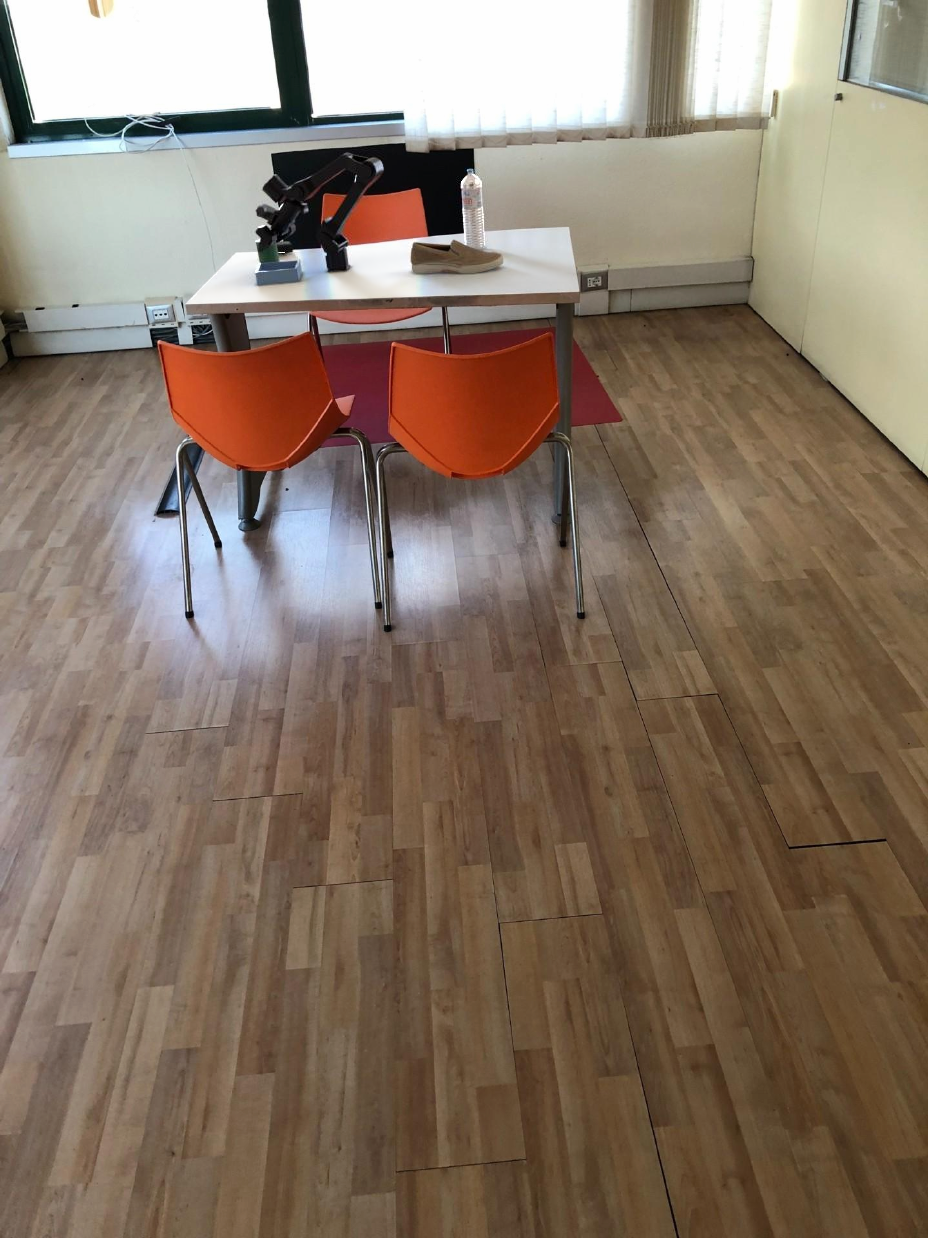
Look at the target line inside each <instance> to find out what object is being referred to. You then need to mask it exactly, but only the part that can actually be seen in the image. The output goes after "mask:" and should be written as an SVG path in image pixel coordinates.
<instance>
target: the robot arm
mask: <svg viewBox="0 0 928 1238" xmlns="http://www.w3.org/2000/svg"><path fill="white" fill-rule="evenodd" d="M345 170H347V171H349V172H351V173H352V174H354V175H355V179H354V182H353V184H352V186H351V187H350V189H349V190H348V192H347V194H345V197H344V199H343V200H342V201H341V203H340V204H339V207H338V208H337V209H336V211H335V213H334V214H333V216H328V217H327V218H325V219H323V220H322V221H321V224H320V226H319V227H318V228H317V229H316V231H317V233H316V239H317V242H318V244H319V245H320V246H321V248H322V250H323V252H324V253H325V254H326V255H325V256H324V257H325V265H326V269H327V270H326V272H330V273H331V272H346V271H348V269H350V268H351V264H349V263H350V262H349V257H348V249H347V248H348V247H349V239H348V238H347V237H345V235H343V233H344V229H345V225H346V222H347V221H348V219H349V218H350V216H351V214H352V213H353V212H354V210H355V209H356V207H357V206H358V204H359V203H360V200H361V199H362V198H363V196H364V194H365V193H366V191H367V190H368V189H369V188H370V187H371V186H372V185H373V184H374V183H375V182H376V181H378V180H379V178H380V177H381V176H382V175H383V174H384V170H385V169H384V164H383V162H382V161H381V160H380V159H379V158H377V157H371V158H369V157H367V156H361V155H356V154H353V153H350V152H345V153H343V154H340V155H339V157H337V158H336V159H335V160H333V161H332V162H331V163H329V164H327V165H326V166H324V167H323V168H322V169H320V170H319V171H318V172H316V173H314V174H313V175H311V176H309V177H306V178H304V179H302V180H299V181H296V182H295V183H293V184H290V185H287V184H286V183H285V181H283V180H282V179H281V178H280V176H279V175H278V174H273V175H272V177H270V178H269V179H268V180H267V181H266V182H265V183H264V185H263V186H262V189H261V190H262V192H263V193H264V194H265V195H266V196H267V197H269V198H270V199H271V200H272V201H273V202H274V203H275V204H277V203H279V204H281V205H280V207H279V209H276V208H275V207H273V206H271V205H269V204H267V203H261V204H259V205H258V206H257V207H256V209H255V213H256V217H258V218H261V219H263V220H265V221H266V223H267V224H268V225H267V224H262V225H260V226H257V228H256V230H255V231H254V232H255V234H256V235H257V236H258V237H259V239H260V242H259V246H258V250H257V249H256V251H257V253H258V252H259V253H260V252H262V251H264V250H265V249H267V248H268V247H270V246H272V245H273V244H275V242H276V244H277V243H278V242H281V241H284V240H285V239H287V238H289V237H290V236H292V235H293V234H294V233H295V232H296V230H297V228H296V224H295V222H296V218H297V217H298V216H299V214H300V213H301V214H302V215H305V214H307V213H308V212H309V206H308V203H304V201H307V200H309V199H311V198H313V197H314V196H315V194H316V193H318V191H320V189H321V188H322V186H323V185H325V184H326V183H328V182H329V181H330V180H332V179H334V178H335V177H336V176H338V175H340V174H341V173H342V172H344V171H345Z"/></svg>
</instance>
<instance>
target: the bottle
mask: <svg viewBox="0 0 928 1238" xmlns="http://www.w3.org/2000/svg"><path fill="white" fill-rule="evenodd" d="M259 242H260V238H259V239H256V240H255V245H256V251H257V250H258V246H259ZM257 255H258V261H259V263H269V262H280V261H281V260H280V256H279V255H280V254H278V250H277V244H276V242H275V244H273V245H272V246H270V247H268V248H267V249H265V250H264V251H262V252H260V253H259V252H258V251H257Z"/></svg>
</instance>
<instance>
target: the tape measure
mask: <svg viewBox="0 0 928 1238" xmlns="http://www.w3.org/2000/svg"><path fill="white" fill-rule="evenodd" d="M277 250H278V252H285V253H278V255H280V256H281V255H282V256H284V255H286V254H290V253H293V252H294V246H293V244H292V243H291V241H287V240H286V241H285V240H282V241H280V242H278V243H277Z"/></svg>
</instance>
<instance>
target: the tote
mask: <svg viewBox="0 0 928 1238" xmlns="http://www.w3.org/2000/svg"><path fill="white" fill-rule="evenodd" d="M279 261H280V262H269V263H260V262H259V264H258V266H257V268H256V269H255V272H254V275H255V281H256V285H257V286H266V285H268V286H269V285H277V284H287V283H298V282H300V280H301V277H302V273H303V270H302V263H301V259H293V260H282V261H281V260H279Z"/></svg>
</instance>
